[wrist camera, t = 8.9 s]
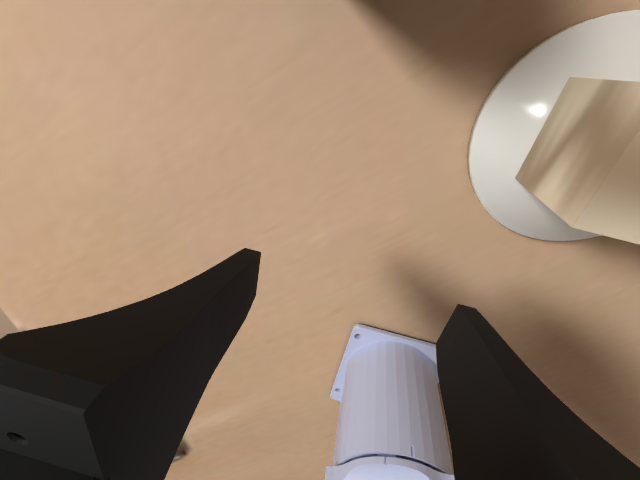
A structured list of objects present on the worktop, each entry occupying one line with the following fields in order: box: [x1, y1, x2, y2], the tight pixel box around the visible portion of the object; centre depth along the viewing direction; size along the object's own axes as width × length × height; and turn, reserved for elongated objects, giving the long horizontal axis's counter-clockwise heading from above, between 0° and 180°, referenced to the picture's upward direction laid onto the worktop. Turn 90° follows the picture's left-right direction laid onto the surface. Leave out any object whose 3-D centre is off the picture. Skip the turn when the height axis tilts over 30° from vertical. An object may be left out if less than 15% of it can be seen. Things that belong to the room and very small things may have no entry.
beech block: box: [515, 77, 640, 244], centre depth 13 cm, size 5×5×6 cm
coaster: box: [467, 10, 640, 241], centre depth 16 cm, size 11×11×1 cm
